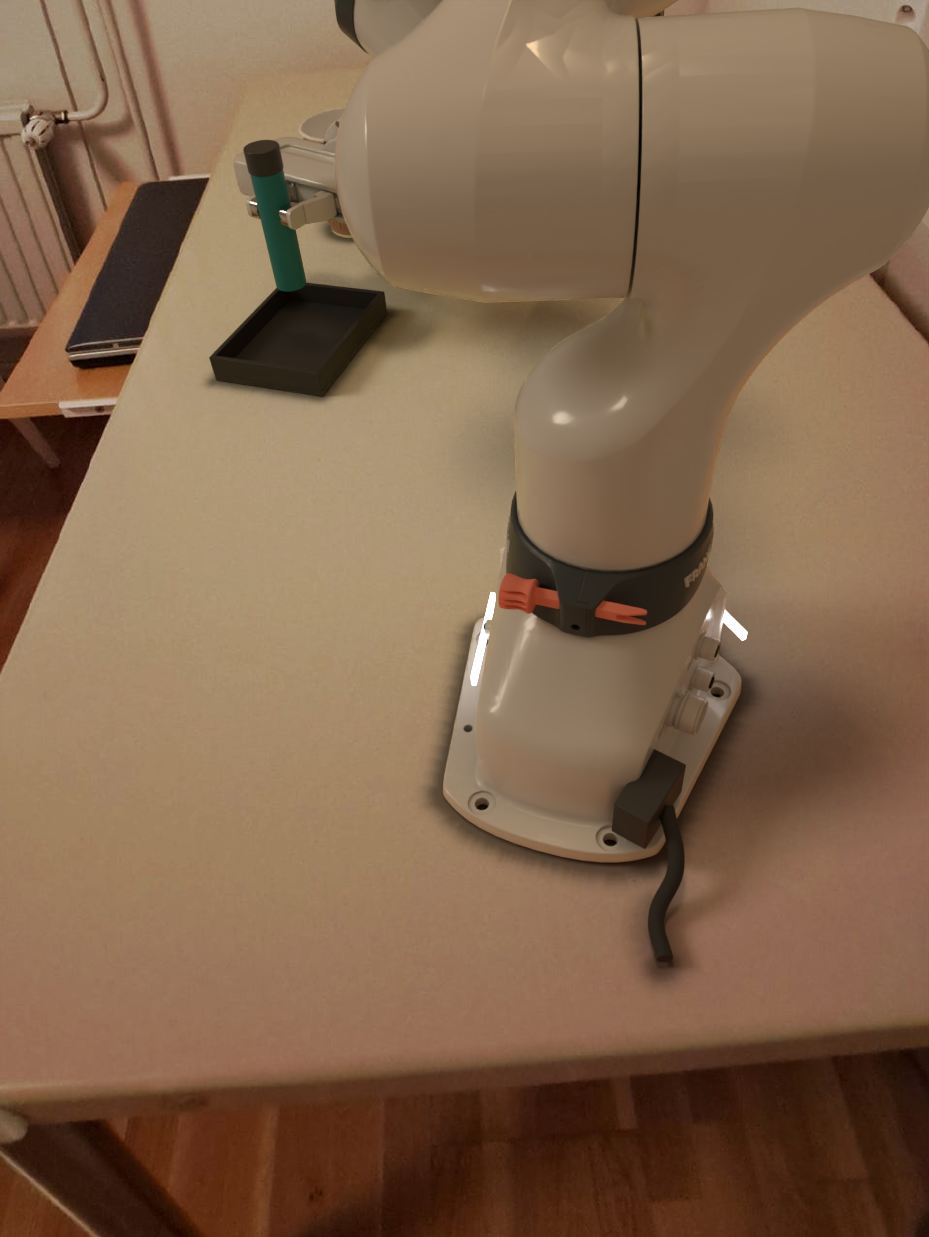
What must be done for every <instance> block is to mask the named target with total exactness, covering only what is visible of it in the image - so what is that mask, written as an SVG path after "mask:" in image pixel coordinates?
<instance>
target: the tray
mask: <svg viewBox="0 0 929 1237" xmlns="http://www.w3.org/2000/svg"><path fill="white" fill-rule="evenodd" d="M385 293H386V292H385V291H384V290H374V289H366V288H356V287H348V286H339V285H331V284H324V283H323V284H322V283H313V282H306V285H305V286H304V287H303V288H301V289H299V290H296V291H290V292H285V291H281V290H279V289H277V287H275V289H274V290H273V291H272V292H271V293H270V294H269V295H268V296H267V297H266V298H264V300H263V301H262V302H261V303H260V304H259V305H258V306H257V307H255V308H256V309H254V310H253V311H252V312H251V313H250V314H249V315H248V316H247V318H246V319H244V320H243V322H242V323H241V324H240V325H239V326H237V328H236V329H235V330H234V331H233V332H232V333H230V335H229V336H228V337H227V338H226V339H225V341H223V342H222V344H221V345H220V346H219V347H217V348H216V350H214V351H213V352H212V354H211V355H210V356H209V357H208V358H209V362H210V365H211V368H212V372H213V375H214V379H215V380H216V381H220V382H227V383H233V384H240V385H246V386H252V387H259V388H265V389H271V390H278V391H285V392H290V393H291V392H292V393H298V394H305V395H311V396H317V397H324V396H325V394H326V393H327V392H328V391H329V389H330V388H331V386H332V385H333V384H334V383H335V381H336V380H338V377H339V376H340V375H341V374H342V372H343V371H344V370H345V368H347V366H348V365H349V363H351V361H352V360H353V358H354V357H355V356H356V355H357V353H358V352H359V351H360V349H361V348H362V347H363V346H364V344H365V343H366V342H367V341H368V339H369V338H370V337H371V335H372V334H373V333H374V332H375V331H376V329H377V328H378V327H379V325H380V324H381V323H382V322H383V320H384V319H385V318H386V316H387V315H388V308H387V302H386V301H387V300H386V295H385Z"/></svg>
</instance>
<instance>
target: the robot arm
mask: <svg viewBox="0 0 929 1237" xmlns="http://www.w3.org/2000/svg"><path fill="white" fill-rule="evenodd" d="M333 1H334V12H335V18H336V23H337V26H338V28H339V30H340V31H341V32H342V33H343V34H344V35H345V36H346V37H348V38H349V40H351V41H352V42H353V43H354V44H355V45H356V46H358V48H360V49H361V50H362V51H363V52H365V54H368V55H369V56H370V57H371V58H372V59H371V60H370V61H369V62H368V64H366V66H365V68H364V69H363V70H362V72H361V74H360V75H359V77H358V79H357V80H356V81H355V84H354V85H353V87H352V89H351V92H350V93H349V95H348V98H347V99H346V102H345V105H344V107H345V108H344V111H343V114H342V117H341V118H340V119H338V120H336V121H335V122H333V123H332V124H331V125H330V126H329V128H328V129H327V131H326V134H325V137H324V142H323V144H321V143H317V142H313V141H309V140H304V139H303V138H299V137H295V136H284V137H283V136H282V137H278V138H275V139H273V140H274V141H276V142H278V143H279V146H280V151H281V156H282V161H283V165H284V167H283V171H284V176H285V180H286V185H287V190H288V195H289V200H290V203H288V204H287V205H286V206H283V207H281V208H280V210H279V216H280V218H281V224H282V226H284V227H287V228H290V229H293V230H296V231H297V230H299V229H300V228H302V227H303V226H305V225H310V224H317V223H322V222H323V223H324V222H328V220H330V219H331V220H334V221H338V222H341V223H345V224H347V227H348V229H349V232H350V234H351V236H352V238H351V239H352V240H353V241H354V243H355V245H356V247H357V249H358V250H359V252H360V253H361V255H362V256H363V257H364V259H365V260H366V262H367V263H368V264H369V266H370V267H371V268H372V270H374V271H375V273H376V274H377V275H378V276H379V277H381V279H383V280H384V282H386V283H387V284H388V285H390V286H392V287H395V288H398V289H403V290H409V291H414V292H418V293H424V294H429V295H434V296H439V297H446V298H451V299H460V300H465V301H472V302H478V303H486V304H488V303H516V302H517V303H518V302H544V301H545V302H546V301H549V302H550V301H575V300H603V299H606V300H607V299H623V300H622V301H621V302H620V303H619V304H618V305H617V306H616V307H615V308H613V309H612V310H611V311H610V312H609V313H607V314H605V315H604V316H603V317H601V318H600V319H598V320H597V321H595V322H593V323H591V324H590V325H589V324H588V326H586V327H584V328H582V329H579V330H578V331H576V332H574V333H572V334H570V335H569V336H567V337H565V338H564V339H561V340H560V341H559V342H557V343H556V344H555V345H553V346H552V347H551V348H550V349H549V350H547V352H546V353H545V354H544V355H543V356H542V357H541V358H540V359H539V360H538V362H536V364H535V365H534V366H533V367H532V369H531V370H530V371H529V372H528V374H527V375H526V377H525V379H524V380H523V382H522V384H521V386H520V388H519V390H518V392H517V395H516V398H515V400H514V401H515V402H514V406H513V412H512V418H513V419H512V422H513V425H512V426H513V447H514V448H513V450H514V472H515V473H514V474H515V492H514V494H513V497H512V500H511V505H510V506H511V507H510V511H509V512H510V513H509V517H508V522H507V528H506V539H505V540H506V542H505V546H502V547H500V549H499V560H500V561H499V562H500V572H499V577H498V582H497V586H496V592H492V591H490V594H489V598H488V602H487V606H486V611H485V615H484V616H483V617H481V618H479V619H478V620H477V621H476V622H475V623H474V626H473V630H472V635H471V640H470V645H469V649H468V655H467V659H466V665H465V670H464V674H463V680H462V683H461V684H462V685H461V690H460V695H459V700H458V705H457V709H456V715H455V719H454V725H453V729H452V734H451V739H450V744H449V748H448V749H449V750H448V755H447V760H446V764H445V769H444V776H443V781H442V782H443V783H442V794H443V797H444V799H445V800H446V801H447V802H448V804H449V805H450V806H451V807H452V808H453V809H454V810H455V811H456V812H457V813H458V814H459V815H460V816H462V817H463V818H464V819H465V820H467V821H468V822H470V824H471V823H472V824H473V825H475V826H476V827H478V829H481V830H483V831H485V832H487V833H489V834H491V835H493V836H495V837H498V838H500V839H503V840H505V841H507V842H510V843H511V844H515V845H519V846H521V847H525V848H527V849H530V850H533V851H536V852H541V853H544V854H549V855H552V856H557V857H561V858H566V859H572V860H578V861H583V862H594V863H624V862H626V863H627V862H633V861H639V860H644V859H647V858H651V857H654V856H656V855H657V854H659V853H660V851H661V850H662V848H663V847H664V845H665V844H666V848H667V849H666V850H667V867H666V872H665V875H664V877H663V880H662V881H661V883H660V886H659V887H658V889H657V890H656V892H655V894H654V896H653V897H652V900H651V903H650V905H649V909H648V916H647V929H648V936H649V938H650V942H651V945H652V949H653V951H654V955H655V960H656V962H659V963H667V962H671V961H673V959H674V956H673V955H674V954H673V951H672V947H671V944H670V942H669V939H668V936H667V932H666V925H665V923H666V916H667V911H668V909H669V907H670V904H671V903H672V900H673V899H674V897H675V895H676V894H677V892H678V890H679V888H680V886H681V883H682V881H683V877H684V874H685V864H686V860H685V858H686V856H685V854H686V853H685V846H684V841H683V836H682V833H681V828H680V825H679V822H678V818H679V817H680V814H681V812H682V810H683V808H684V806H685V804H686V803H687V800H688V798H689V796H690V795H691V793H692V791H693V789H694V786H695V785H696V782H697V781H698V778H699V777H700V774H701V773H702V770H703V769H704V767H705V764H706V763H707V760H708V759H709V756H710V755H711V753H712V751H713V749H714V747H715V745H716V743H717V741H718V740H719V737H720V735H721V733H722V731H723V729H724V728H725V725H726V724H727V721H728V719H729V717H730V715H731V714H732V712H733V709H734V708H735V705H736V704H737V701H738V700H739V698H740V695H741V693H742V677H741V675H740V673H739V671H737V669H736V668H735V667H734V666H733V665H732V664H731V663H729V661H727V660H726V659H725V658H724V657H722V656H721V655H720V654H719V652H720V648H721V645H722V641H721V639H722V632H723V626H724V624H725V625H726V627H727V628H729V629H730V630H731V631H732V632H733V633H734V634H735V635H736V637H738V638H739V639H740V640H741V641H745V640H747V636H748V631H747V630H746V629H745V628H744V627H743V626H742V625H741V624H740V623H739V622H738V621H737V620H736V619H735V618H734V617H733V616H732V615H731V614H730V613H729V612H728V611H727V610H726V604H727V598H728V592H727V591H726V589H724V587H723V584H722V583H721V582H720V581H719V580H718V579H717V577H716V576H715V575H714V574H713V572H712V570H711V569H710V567H709V565H708V562H709V556H710V554H711V552H712V547H713V541H714V540H713V539H714V533H715V531H714V529H715V528H714V509H713V503H712V500H711V497H710V496H711V490H712V484H713V481H714V475H715V470H716V466H717V462H718V458H719V453H720V449H721V445H722V441H723V437H724V435H725V430H726V427H727V423H728V420H729V417H730V414H731V412H732V410H733V407H734V405H735V404H736V401H737V400H738V397H739V395H740V393H742V390H743V388H744V387H745V385H746V384H747V383H748V381H749V379H750V378H751V377H752V375H753V374H754V373H755V371H756V370H757V368H758V367H759V366H760V365H761V363H762V362H763V361H764V360H765V358H766V357H767V356H768V355H769V354H770V353H771V352H772V350H774V348H775V347H777V344H778V343H779V342H781V341H782V339H784V337H785V336H787V334H789V333H790V331H791V330H792V329H794V328H795V327H796V326H797V325H798V324H799V323H800V322H802V321H803V320H804V319H805V318H806V317H807V316H809V315H810V314H811V313H812V312H813V311H814V310H816V309H817V308H818V307H819V306H822V305H823V303H825V302H827V301H828V300H829V299H830V298H831V297H833V296H835V295H836V294H837V293H839V292H841V291H842V290H844V289H846V288H847V287H849V286H850V285H852V284H855V282H857V281H859V280H860V279H862V278H864V277H866V276H868V275H870V274H871V273H873V272H875V271H877V270H879V269H880V268H882V267H883V266H885V265H886V264H887V263H888V262H889V261H890V260H891V259H892V258H893V257H894V256H895V255H896V254H897V253H898V252H899V251H900V250H901V248H903V246H904V245H905V244H906V242H907V241H909V239H910V238H911V237H912V236H913V234H914V232H915V231H916V230H917V228H918V227H919V225H920V224H921V223H922V221H923V219H924V218H925V216H926V213H927V212H928V210H929V47H928V46H927V45H926V43H925V42H924V40H923V39H922V38H921V36H920V35H919V34H918V33H917V32H916V30H914V29H913V28H912V27H910V26H907V25H903V24H898V23H893V22H888V21H883V20H878V19H874V18H873V19H872V18H868V17H862V16H859V15H852V14H846V13H839V12H830V11H824V10H816V9H809V8H802V7H785V8H769V9H756V10H755V9H753V10H739V11H736V10H735V11H724V12H707V13H706V12H705V13H690V14H675V15H674V14H672V15H664V16H655V15H656V14H658V13H660V12H661V11H663V10H664V11H665V10H666V9H668V8H669V7H671V6H672V5H674V4H675V3H677V2H678V1H679V0H333ZM653 16H655V17H653ZM232 165H233V170H234V175H235V178H236V182H237V186H238V190H239V191H240V193H241V194H243V195H244V196H247V198H246V201H245V206H246V210H247V214H248V216H249V217H251V218H253V219H256V220H257V219H258V220H261V219H260V215H259V210H258V206H257V202H256V197H255V193H254V189H253V185H252V180H251V176H250V174H249V172H248V168H247V164H246V160H245V155H244V151H243V150H242V151H241V152H239V153H237V154H236V155H235V157H234V159H233V164H232ZM714 695H719V696H718V697H717V696H714ZM480 805H485V806H487V808H485V809H478V807H479V806H480ZM606 840H611V841H614V842H615V844H613V845H609V844H606V843H605V841H606Z"/></svg>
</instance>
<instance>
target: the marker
mask: <svg viewBox="0 0 929 1237" xmlns="http://www.w3.org/2000/svg"><path fill="white" fill-rule="evenodd" d="M243 151H244V155H245V160H246V164H247V168H248V172H249V174H250V176H251V180H252V185H253V189H254V193H255V197H256V202H257V206H258V210H259V215H260V219H259V220H260V223H261V227H262V231H263V236H264V240H265V245H266V249H267V252H268V257H269V261H270V266H271V270H272V274H273V278H274V282H275V288H277V289H279V290H281V291H285V292H290V291H296V290H299V289H301V288H303V287H304V286H305V285H306V283H307V277H306V272H305V267H304V262H303V257H302V253H301V249H300V248H301V247H300V244H299V239H298V233H297V230H293V229H290V228H287V227H284V226H282V224H281V218H280V216H279V210H280V208H281V207H283V206H286V205H287V204H288V203H290V200H289V195H288V190H287V185H286V180H285V176H284V171H283V167H284V165H283V161H282V156H281V151H280V146H279V143H278V142H276V141H274V139H260V140H254V141H252V142H250V143H247V144H246V145H245V146H244V147H243V150H242V152H243Z"/></svg>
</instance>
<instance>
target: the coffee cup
mask: <svg viewBox="0 0 929 1237" xmlns="http://www.w3.org/2000/svg"><path fill="white" fill-rule="evenodd" d="M344 108H345V106H342V107H336V108H331V109H326V110H322V111H319V112H317V113H315V114H312V115H310V116H308V117H307V118H305V119H304V120H303V121H302V122H301V123H300V124H299V126H298V134H299V135H300V136H301V137H302V139H304V140H309V141H313V142H317V143H321V144H323V142H324V137H325V134H326V131H327V129H328V128H329V126H330V125H331V124H332V123H333V122H335V121H336V120H338V119H340V118H341V117H342V114H343V111H344ZM327 222H328V223H329V226H330V228H331V231H332V232H333V234H335V235H336V236H338V237H341V238H344V239H353V238H352V236H351V234H350V232H349V229H348V227H347V224H345V223H341V222H338V221H334V220H331V219H330V220H328V221H327Z"/></svg>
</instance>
